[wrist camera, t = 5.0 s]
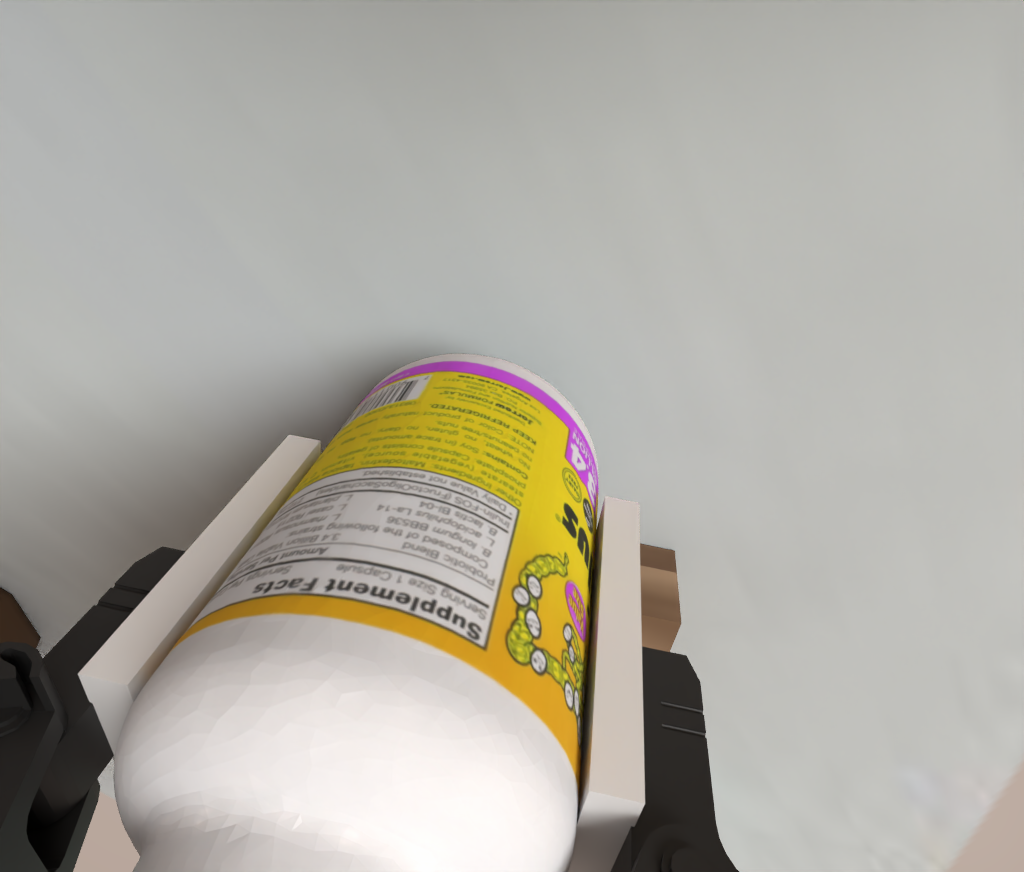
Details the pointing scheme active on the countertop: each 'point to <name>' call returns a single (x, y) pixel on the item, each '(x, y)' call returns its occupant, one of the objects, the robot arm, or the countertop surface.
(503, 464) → the supplement bottle
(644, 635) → the slot board
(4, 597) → the beer bottle
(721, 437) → the countertop surface
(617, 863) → the robot arm
